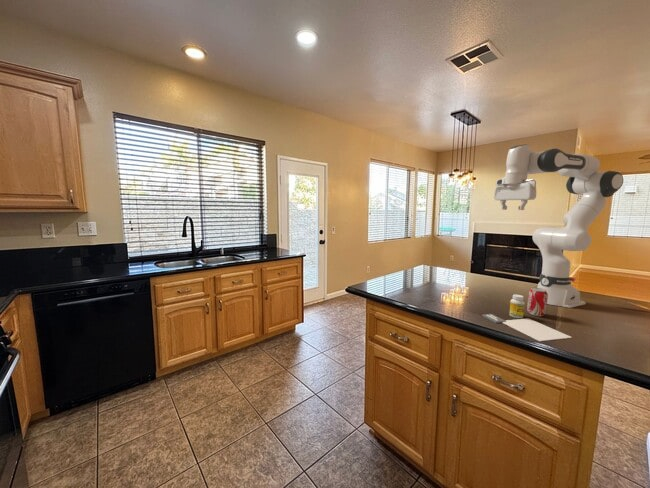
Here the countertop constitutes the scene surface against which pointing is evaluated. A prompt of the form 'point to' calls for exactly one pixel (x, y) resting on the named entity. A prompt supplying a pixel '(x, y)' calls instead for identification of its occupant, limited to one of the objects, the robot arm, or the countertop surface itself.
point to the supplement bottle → (517, 306)
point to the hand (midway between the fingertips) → (512, 209)
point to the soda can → (537, 302)
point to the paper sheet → (535, 330)
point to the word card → (493, 318)
